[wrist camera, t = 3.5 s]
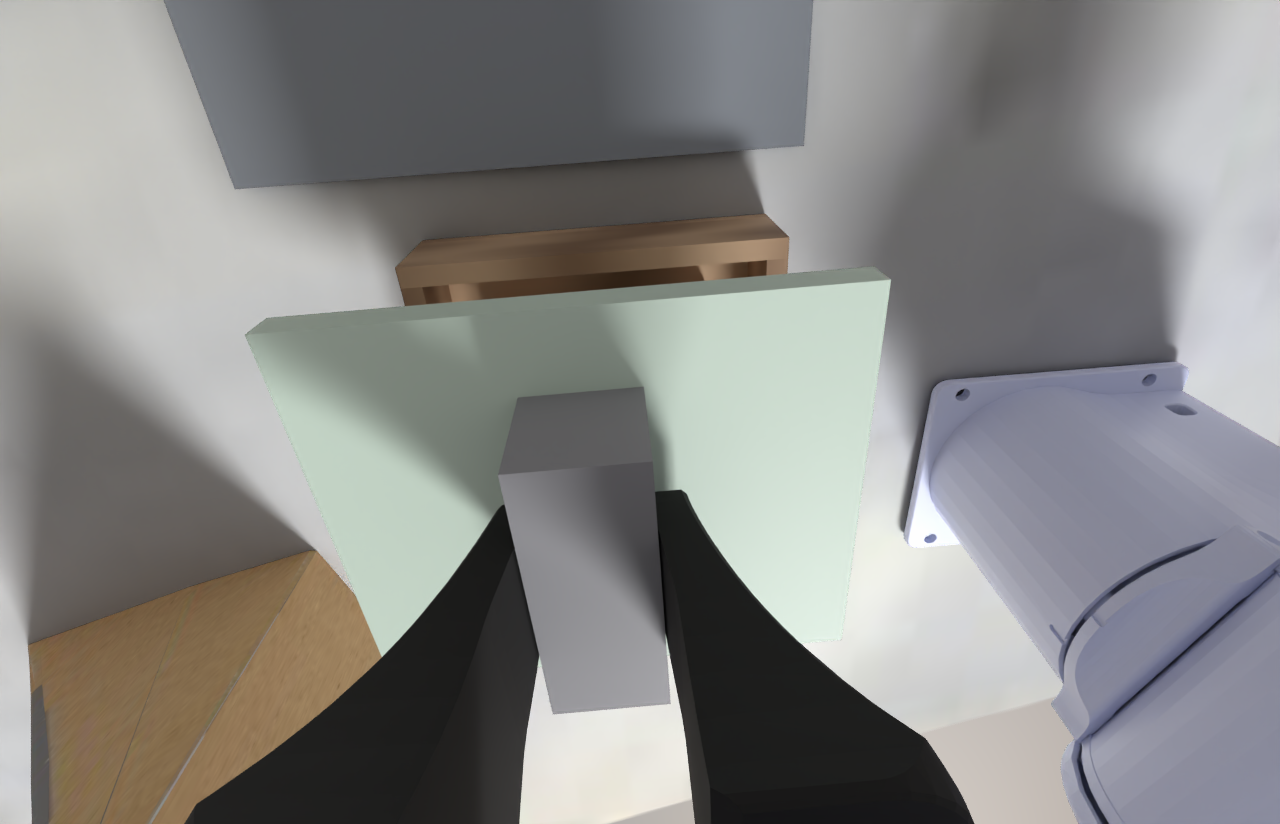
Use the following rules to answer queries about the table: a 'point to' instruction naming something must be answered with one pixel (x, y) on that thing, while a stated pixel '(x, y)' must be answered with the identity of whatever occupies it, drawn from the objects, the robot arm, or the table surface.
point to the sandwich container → (188, 691)
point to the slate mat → (489, 82)
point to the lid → (591, 452)
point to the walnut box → (592, 259)
